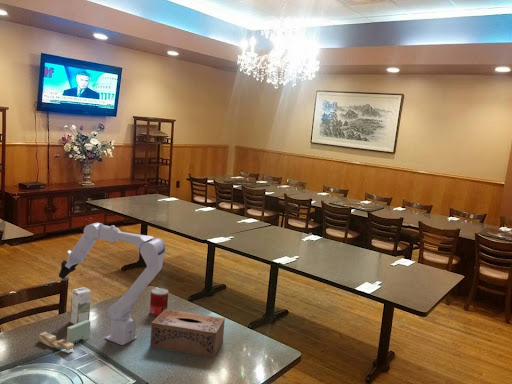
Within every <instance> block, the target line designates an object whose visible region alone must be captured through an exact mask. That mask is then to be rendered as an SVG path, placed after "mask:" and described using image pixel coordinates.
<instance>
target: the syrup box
mask: <svg viewBox="0 0 512 384" xmlns="http://www.w3.org/2000/svg"><path fill="white" fill-rule="evenodd" d="M91 297H92V291H91V290H90V289H89V288H87V287H85V286H84V287H83V286H82V287H80V288H74V289H71V299H70V316H69V322H70V323H71V324H73V325H75V324H77V323H80V322H82V321H85V320H89V321H90V314H91V313H90V312H91V302H92V301H91V299H92V298H91Z"/></svg>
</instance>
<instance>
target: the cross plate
mask: <svg viewBox="0 0 512 384" xmlns="http://www.w3.org/2000/svg"><path fill="white" fill-rule="evenodd" d="M66 329H67V330H66V341H68V342H70V343H71V342H73V341H76V342H77V339H79V338H80V340H82V339H83V340H82V341H86V340H89V339H90V338H91V337H90V336H91V320H90V319H89V320H85V321H82V322H80V323H77V324H75V325H74V324H73V325H70V326H67V328H66Z"/></svg>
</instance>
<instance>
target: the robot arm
mask: <svg viewBox="0 0 512 384" xmlns="http://www.w3.org/2000/svg"><path fill="white" fill-rule="evenodd" d="M78 239H79V240H78V241H77V243H75V245H74V247H73V249H72V250H70V249H69V250H67V252H66V254H67V255H68V256H67V260H62V262H61V267H60V271H59V273H58V277H59V278H60V279H62V280H64V279H65V278H66V277H68V275H69V274H70V273H72V272H74V271H75V270H77V269H76V267H77V266H78V265H79V264H81V263H83V262H84V261H85V260H86V257H87V256H88V254H89V252H90V251H91V249H92V248H93V246H94V245H95V244H96V242H97V241H98V240H101V241H107V242H111V243H116V242H118V241H122V242H125V243H129V244H133V245H135V246H136V250H137V251H139V253H140V255H141V257H142V259H143V260H144V263H145V265H146V267H145V268H144V270H143V271H142V272H141V274H139V276H138V277H137V278H136V280H135V281H134V282H133V283H132V285H131V286H130V287H129V288H128V290H126V291H125V293H124V294H123V295H122V296H121V297H120V298H119V299H118V300H117V301H116V302H114V303H113V304H111V305H110V306H109V308H108V310H107V313H108V316H109V318H110V333H109V335H107V336H105V337H104V338H105V340H108V341H111V342H113V343H114V344H115V343H116V344H118V345H121V346H124V345H126V344H128V343H130V342H132V341H133V340H136V339H137V338H138V337H137V336H136V332H137V331H136V330H137V323H136V321H135V320H133V319H132V317H131V311H133V309H134V306H135V303H136V302H137V299H138V298H139V297H140V295H142V293H143V292H144V291H145V290H146V289H147V287H148V286H149V284H150V283H151V282H152V281H153V280H154V279H155V277H156V276H157V275H158V274H159V272H160V271H161V270H162V268H163V263H164V257H165V254H166V251H167V249H166V244H165V241H163V239H162V238H159V237H154V236H152V235H145V234H138V233H131V232H126V231H121V230H120V228H119V227H116V226H115V225H114V224H113V225H110V226H109V225H105V224H104V223H100V222H94V223H91V224H87V225H86V226H85V227H84V229H83V234H82V235H81V236H80V238H78Z"/></svg>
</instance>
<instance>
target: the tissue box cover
mask: <svg viewBox="0 0 512 384" xmlns="http://www.w3.org/2000/svg"><path fill="white" fill-rule="evenodd" d="M225 320H226V319H225V317H220V316H219V317H218V316H213V315H206V314H201V313H200V314H199V313H195V312H194V313H193V312H187V311H180V310H173V309H168V308H167V309H165V310H164V311H163V312H162V313H161V314H160V315H159V316H158V317H155V319H154V320H153V321H152V322H151V329H150V343H149V347H150V348H157V349H161V350H162V349H163V350H167V351H174V352H181V353H187V354H190V355H191V354H192V355H197V356H198V355H199V356H203V357H204V356H205V357H210V358H215V357H216V355H217V352H218V351H219V349H220V347H221V345H222V343H223V341H224V332H225Z"/></svg>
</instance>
